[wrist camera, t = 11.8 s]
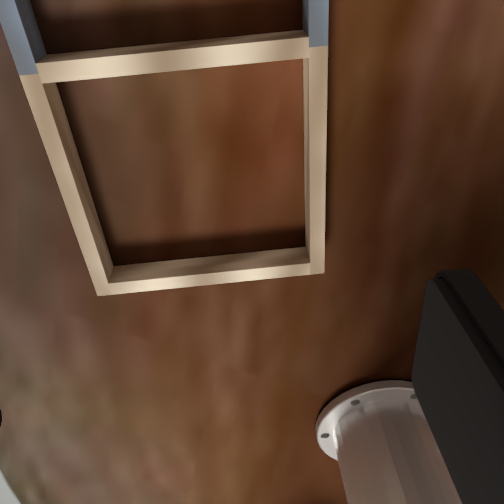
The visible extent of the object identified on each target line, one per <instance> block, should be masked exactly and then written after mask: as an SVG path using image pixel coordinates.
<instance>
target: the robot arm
mask: <svg viewBox="0 0 504 504" xmlns="http://www.w3.org/2000/svg"><path fill="white" fill-rule="evenodd" d="M1 422H2V414H1V410H0V426H1ZM315 431H316V436H317V441H318V444H319V446H320V448H321V449H322V450H323V451H324V452H325V453H326V454H327V455H329V456H330V457H332V458H334V459H336V460H338V463H339V467H340V471H341V476H342V480H343V484H344V489H345V493H346V497H347V502H348V504H504V311H503V309H502V308H501V307H500V305H499V304H498V303H497V301H496V300H495V299H494V298H493V296H492V295H491V294H490V292H489V291H488V290H487V288H486V287H485V286H484V285H483V283H482V282H481V281H480V279H479V278H478V277H477V275H476V274H475V273H474V272H473V271H472V270H471V269H456V270H445V271H439V272H438V273H437V274H436V276H435V279H430V280H428V282H427V285H426V290H425V296H424V302H423V308H422V314H421V320H420V326H419V332H418V338H417V344H416V350H415V356H414V362H413V368H412V382H408V381H402V380H386V381H377V382H372V383H368V384H364V385H361V386H358V387H355V388H352V389H350V390H348V391H346V392H344V393H342V394H341V395H339V396H338V397H336V398H335V399H333V400H332V401H331V402H330V403H329V404H328V405H327V406H326V407H325V408H324V409H323V410H322V412H321V413H320V415H319V416H318V419H317V422H316V428H315Z"/></svg>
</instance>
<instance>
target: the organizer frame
mask: <svg viewBox="0 0 504 504" xmlns="http://www.w3.org/2000/svg"><path fill="white" fill-rule="evenodd" d="M302 9H303V30H295V31H285V32H275V33H264V34H254V35H244V36H233V37H223V38H213V39H203V40H192V41H182V42H172V43H161V44H151V45H141V46H130V47H120V48H110V49H100V50H89V51H79V52H69V53H58V54H48V55H47V53H46V50H45V47H44V44H43V40H42V37H41V34H40V31H39V28H38V24H37V21H36V18H35V15H34V12H33V9H32V5H31V2H30V0H0V23H1V25H2V28H3V31H4V34H5V37H6V39H7V42H8V45H9V48H10V51H11V53H12V56H13V59H14V62H15V65H16V68H17V70H18V73H19V76H20V79H21V82H22V84H23V87H24V90H25V93H26V96H27V98H28V101H29V104H30V107H31V110H32V113H33V115H34V118H35V121H36V124H37V127H38V129H39V132H40V135H41V138H42V141H43V143H44V146H45V149H46V152H47V155H48V157H49V160H50V163H51V166H52V169H53V172H54V174H55V177H56V180H57V183H58V186H59V188H60V191H61V194H62V197H63V200H64V202H65V205H66V208H67V211H68V214H69V217H70V219H71V222H72V225H73V228H74V231H75V233H76V236H77V239H78V242H79V245H80V247H81V250H82V253H83V256H84V259H85V262H86V264H87V267H88V270H89V273H90V276H91V278H92V281H93V284H94V287H95V290H96V292H97V295H98V296H103V295H113V294H123V293H133V292H142V291H152V290H162V289H172V288H182V287H192V286H202V285H211V284H221V283H231V282H241V281H251V280H261V279H271V278H280V277H290V276H300V275H310V274H320V273H324V260H325V199H326V139H327V78H328V17H329V0H302ZM300 58H303V87H304V166H305V245H306V247H298V248H289V249H279V250H269V251H259V252H249V253H239V254H229V255H219V256H209V257H199V258H189V259H180V260H170V261H160V262H150V263H140V264H130V265H120V266H113V263H112V260H111V257H110V253H109V250H108V247H107V244H106V241H105V238H104V234H103V231H102V228H101V225H100V222H99V218H98V215H97V212H96V209H95V206H94V203H93V199H92V196H91V193H90V190H89V187H88V183H87V180H86V177H85V174H84V171H83V168H82V164H81V161H80V158H79V155H78V152H77V148H76V145H75V142H74V139H73V136H72V133H71V129H70V126H69V123H68V120H67V117H66V113H65V110H64V107H63V104H62V101H61V98H60V94H59V91H58V88H57V85H56V82H64V81H75V80H85V79H95V78H105V77H116V76H126V75H136V74H146V73H157V72H167V71H177V70H188V69H198V68H208V67H218V66H229V65H239V64H249V63H259V62H270V61H280V60H290V59H300Z"/></svg>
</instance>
